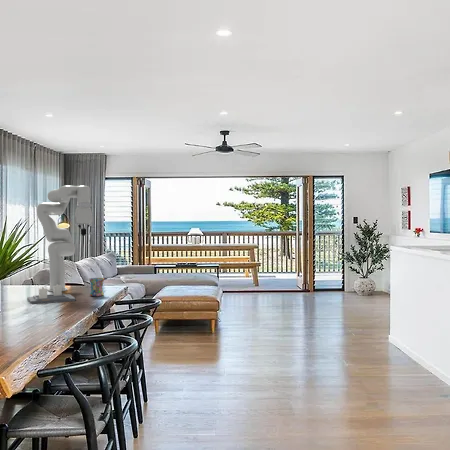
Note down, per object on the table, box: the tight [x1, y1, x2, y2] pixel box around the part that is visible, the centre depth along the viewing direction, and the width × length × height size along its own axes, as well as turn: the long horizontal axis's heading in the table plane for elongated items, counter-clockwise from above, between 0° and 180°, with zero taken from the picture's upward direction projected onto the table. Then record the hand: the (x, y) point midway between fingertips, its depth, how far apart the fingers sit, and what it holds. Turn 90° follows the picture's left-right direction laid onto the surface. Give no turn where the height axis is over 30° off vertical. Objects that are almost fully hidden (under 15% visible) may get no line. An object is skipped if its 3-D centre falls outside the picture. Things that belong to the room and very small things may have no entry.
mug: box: [88, 277, 105, 297], centre depth 315 cm, size 12×9×11 cm
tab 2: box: [52, 284, 63, 296], centre depth 305 cm, size 4×4×7 cm
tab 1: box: [38, 286, 48, 299], centre depth 294 cm, size 4×4×7 cm
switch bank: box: [26, 293, 76, 305], centre depth 299 cm, size 18×24×2 cm
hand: (83, 235), depth 321 cm, fingers closed
